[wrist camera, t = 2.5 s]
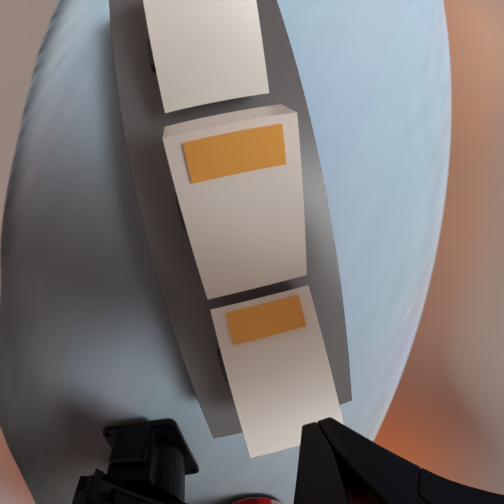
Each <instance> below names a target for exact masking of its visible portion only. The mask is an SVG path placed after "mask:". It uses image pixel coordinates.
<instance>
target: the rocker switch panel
mask: <svg viewBox="0 0 504 504" xmlns="http://www.w3.org/2000/svg"><path fill="white" fill-rule="evenodd" d="M256 2H257V8H258V15H259V21H260V28H261V35H262V42H263V49H264V57H265V64H266V72H267V79H268V87H269V93H267V94H260V95H253V96H247V97H241V98H235V99H229V100H224V101H218V102H213V103H208V104H203V105H199V106H194V107H189V108H185V109H181V110H176V111H172V112H168V113H165V111H164V106H163V102H162V97H161V92H160V88H159V83H158V78H157V73H156V68H155V63H154V58H153V53H152V48H151V43H150V37H149V32H148V26H147V21H146V15H145V9H144V3H143V0H109V7H110V23H111V36H112V47H113V57H114V67H115V75H116V83H117V91H118V98H119V105H120V112H121V118H122V124H123V130H124V136H125V142H126V147H127V153H128V158H129V163H130V168H131V173H132V178H133V183H134V187H135V192H136V197H137V201H138V206H139V210H140V214H141V218H142V223H143V227H144V231H145V235H146V239H147V243H148V246H149V250H150V254H151V258H152V261H153V265H154V269H155V272H156V276H157V279H158V283H159V286H160V290H161V293H162V296H163V300H164V303H165V306H166V310H167V313H168V316H169V319H170V322H171V325H172V328H173V331H174V334H175V337H176V340H177V343H178V346H179V349H180V352H181V355H182V358H183V361H184V364H185V366H186V369H187V372H188V375H189V377H190V380H191V383H192V386H193V388H194V391H195V393H196V396H197V399H198V401H199V404H200V406H201V409H202V411H203V414H204V416H205V419H206V421H207V424H208V426H209V429H210V431H211V433H212V436H213V438H217V437H223V436H228V435H232V434H237V433H242V432H243V431H242V427H241V424H240V421H239V417H238V414H237V410H236V407H235V403H234V399H233V396H232V392H231V389H230V385H229V381H228V377H227V374H226V370H225V366H224V362H223V359H222V355H221V351H220V347H219V343H218V339H217V335H216V331H215V327H214V323H213V319H212V315H211V309H216V308H220V307H224V306H228V305H232V304H237V303H241V302H245V301H249V300H253V299H257V298H261V297H265V296H269V295H273V294H277V293H281V292H284V291H288V290H292V289H296V288H300V287H303V286H307V285H309V289H310V292H311V296H312V300H313V303H314V307H315V311H316V314H317V318H318V322H319V325H320V329H321V333H322V337H323V341H324V345H325V349H326V352H327V356H328V360H329V364H330V368H331V372H332V376H333V380H334V385H335V389H336V393H337V397H338V401H339V405H340V404H343V403H346V402H348V401H351V400H352V396H351V381H350V368H349V356H348V345H347V334H346V325H345V316H344V307H343V299H342V291H341V283H340V276H339V269H338V262H337V255H336V249H335V242H334V236H333V230H332V224H331V218H330V212H329V207H328V201H327V196H326V190H325V185H324V180H323V175H322V170H321V165H320V160H319V156H318V151H317V146H316V142H315V137H314V133H313V129H312V124H311V120H310V116H309V112H308V108H307V104H306V100H305V96H304V92H303V88H302V84H301V80H300V77H299V73H298V69H297V66H296V62H295V59H294V55H293V52H292V48H291V45H290V41H289V38H288V35H287V31H286V28H285V25H284V22H283V18H282V15H281V12H280V9H279V6H278V3H277V0H256ZM279 104H282V105H284V106H286V107H288V108H289V109H291V110H293V111H295V112H297V116H298V127H299V139H300V152H301V166H302V181H303V197H304V216H305V237H306V265H307V275H305V276H301V277H297V278H294V279H290V280H286V281H282V282H278V283H274V284H270V285H266V286H262V287H258V288H254V289H250V290H246V291H242V292H238V293H233V294H229V295H225V296H221V297H217V298H212V299H207V296H206V293H205V290H204V287H203V283H202V280H201V277H200V274H199V270H198V267H197V264H196V260H195V257H194V254H193V250H192V247H191V243H190V240H189V237H188V233H187V230H186V226H185V222H184V219H183V215H182V212H181V208H180V204H179V201H178V197H177V193H176V190H175V186H174V182H173V178H172V174H171V171H170V167H169V163H168V159H167V155H166V151H165V147H164V143H163V139H162V138H163V133H164V128H165V126H169V125H173V124H177V123H182V122H186V121H190V120H195V119H199V118H204V117H209V116H214V115H219V114H224V113H229V112H234V111H240V110H246V109H252V108H258V107H265V106H271V105H279Z"/></svg>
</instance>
